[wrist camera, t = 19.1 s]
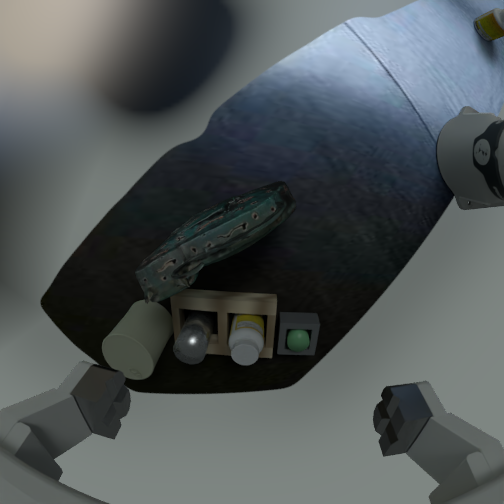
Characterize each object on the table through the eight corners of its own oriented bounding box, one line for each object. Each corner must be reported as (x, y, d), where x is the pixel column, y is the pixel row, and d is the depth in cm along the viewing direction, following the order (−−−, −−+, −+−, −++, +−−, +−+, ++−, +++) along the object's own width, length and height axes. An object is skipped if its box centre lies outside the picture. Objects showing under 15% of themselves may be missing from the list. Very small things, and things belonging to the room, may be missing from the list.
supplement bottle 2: (489, 46, 30) (519, 35, 20) (470, 27, 29) (499, 13, 19) (493, 32, 28) (521, 21, 18) (475, 14, 27) (502, 0, 18)
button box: (316, 313, 48) (319, 324, 45) (311, 343, 50) (314, 355, 47) (279, 312, 48) (280, 322, 45) (276, 342, 50) (277, 354, 47)
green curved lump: (186, 263, 47) (138, 329, 28) (165, 229, 45) (102, 277, 26) (296, 204, 43) (319, 241, 24) (276, 166, 41) (283, 171, 22)
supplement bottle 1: (249, 338, 50) (245, 374, 41) (226, 320, 50) (217, 354, 40) (271, 320, 49) (271, 355, 40) (248, 301, 48) (243, 333, 39)
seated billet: (215, 307, 49) (204, 340, 39) (216, 330, 50) (205, 365, 41) (188, 304, 49) (171, 336, 39) (190, 328, 50) (175, 362, 41)
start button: (308, 324, 47) (311, 334, 44) (306, 341, 48) (308, 351, 46) (287, 323, 47) (288, 333, 45) (285, 341, 49) (286, 351, 46)
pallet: (276, 294, 47) (276, 302, 45) (271, 348, 51) (271, 358, 48) (175, 287, 48) (170, 295, 45) (180, 340, 52) (176, 349, 49)
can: (145, 346, 53) (121, 385, 41) (120, 307, 50) (90, 342, 39) (183, 335, 51) (164, 377, 40) (158, 293, 49) (131, 329, 37)
